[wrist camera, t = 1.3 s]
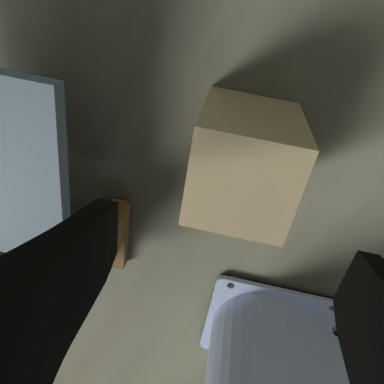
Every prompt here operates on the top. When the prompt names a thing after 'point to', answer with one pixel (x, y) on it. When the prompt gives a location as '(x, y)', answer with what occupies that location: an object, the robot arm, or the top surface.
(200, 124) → the block
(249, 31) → the top surface
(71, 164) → the top surface
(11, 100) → the trapdoor
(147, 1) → the top surface
